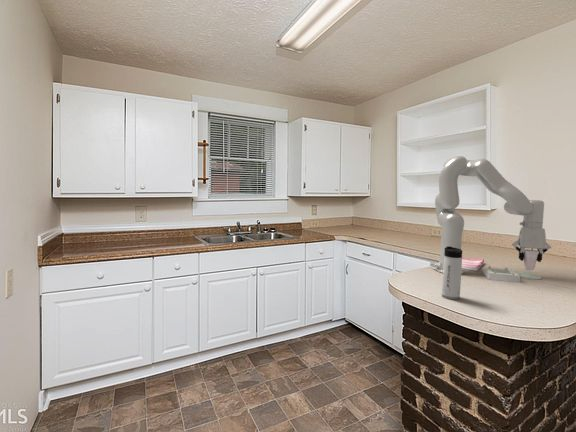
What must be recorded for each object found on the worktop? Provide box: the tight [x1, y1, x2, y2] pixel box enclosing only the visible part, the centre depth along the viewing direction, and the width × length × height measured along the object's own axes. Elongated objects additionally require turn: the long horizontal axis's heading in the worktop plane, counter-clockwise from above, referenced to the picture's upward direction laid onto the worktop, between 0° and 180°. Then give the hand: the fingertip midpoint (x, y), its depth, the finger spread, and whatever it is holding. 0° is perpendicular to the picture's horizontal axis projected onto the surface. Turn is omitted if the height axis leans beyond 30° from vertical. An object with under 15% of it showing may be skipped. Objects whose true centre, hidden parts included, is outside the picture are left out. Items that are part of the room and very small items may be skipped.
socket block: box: [482, 266, 521, 283], centre depth 147 cm, size 12×12×4 cm
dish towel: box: [461, 257, 485, 272], centre depth 172 cm, size 17×23×4 cm
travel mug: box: [441, 246, 463, 301], centre depth 118 cm, size 6×7×20 cm
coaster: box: [516, 272, 543, 280], centre depth 149 cm, size 10×10×1 cm
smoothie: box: [523, 248, 539, 272], centre depth 148 cm, size 6×6×14 cm
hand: (530, 260), depth 149 cm, fingers closed on smoothie, 6 cm apart
